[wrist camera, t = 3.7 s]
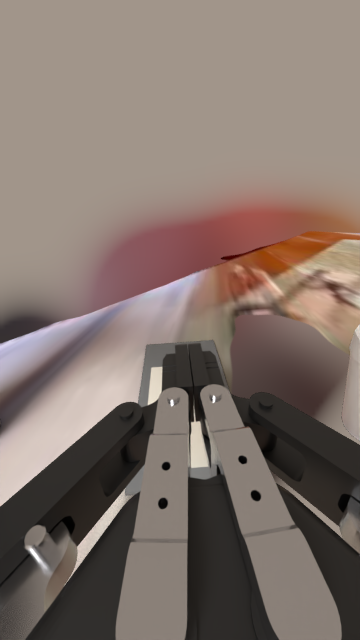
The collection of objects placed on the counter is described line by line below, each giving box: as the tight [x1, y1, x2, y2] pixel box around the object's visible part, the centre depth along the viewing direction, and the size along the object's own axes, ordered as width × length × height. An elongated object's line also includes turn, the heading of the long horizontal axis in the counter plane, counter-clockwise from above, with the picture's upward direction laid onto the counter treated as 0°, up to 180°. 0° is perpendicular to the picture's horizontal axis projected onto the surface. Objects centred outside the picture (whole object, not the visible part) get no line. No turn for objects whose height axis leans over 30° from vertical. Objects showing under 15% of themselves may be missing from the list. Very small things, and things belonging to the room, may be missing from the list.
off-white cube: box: [148, 367, 208, 468], centre depth 28 cm, size 8×8×8 cm
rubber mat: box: [125, 340, 230, 495], centre depth 37 cm, size 28×14×1 cm, turn 3°
